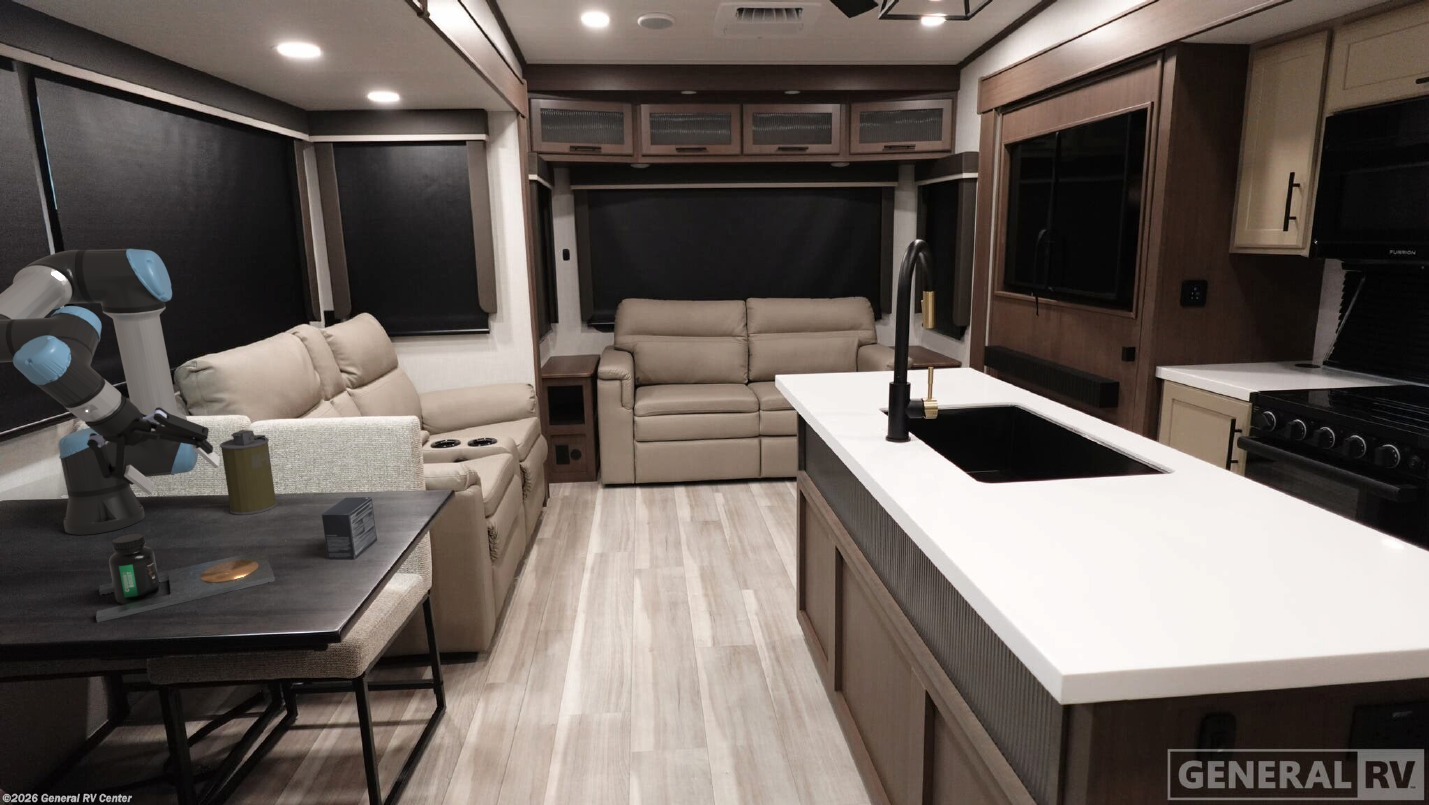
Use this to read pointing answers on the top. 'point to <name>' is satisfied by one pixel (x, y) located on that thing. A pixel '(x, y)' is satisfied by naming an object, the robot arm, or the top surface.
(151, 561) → the supplement bottle
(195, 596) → the rail plate
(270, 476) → the canister
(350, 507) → the small box
